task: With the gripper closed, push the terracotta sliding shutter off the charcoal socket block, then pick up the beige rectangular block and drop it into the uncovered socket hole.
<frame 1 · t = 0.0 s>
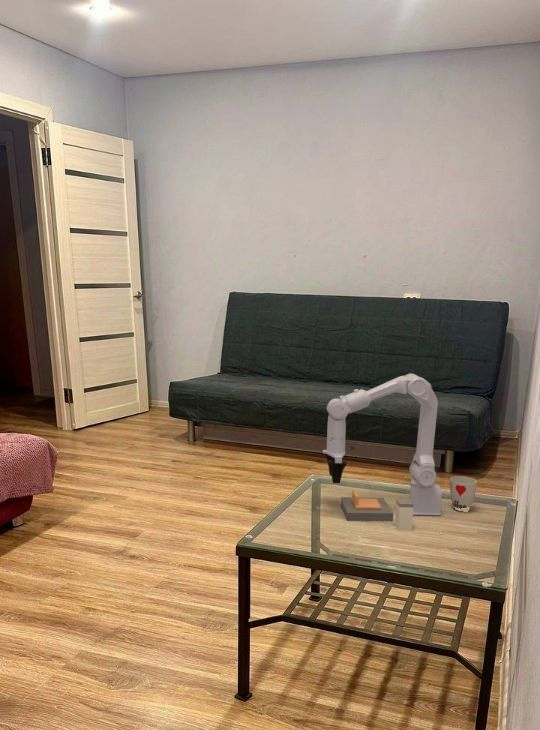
hand: (334, 479, 188), 10 cm above the table, fingers open, 7 cm apart
beige rectangular block: (403, 527, 176), on the table
cup: (461, 510, 193), on the table
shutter: (366, 499, 187), point 4 cm above the table, slide at 0.0 cm
socket housing: (365, 512, 188), on the table
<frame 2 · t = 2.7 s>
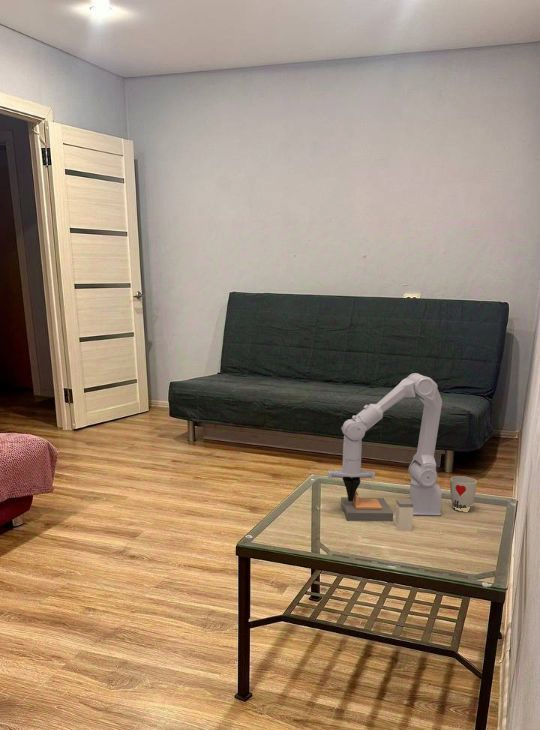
hand: (350, 500, 187), 4 cm above the table, fingers closed
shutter: (367, 499, 187), point 4 cm above the table, slide at 0.2 cm, touching gripper
everything else where it was.
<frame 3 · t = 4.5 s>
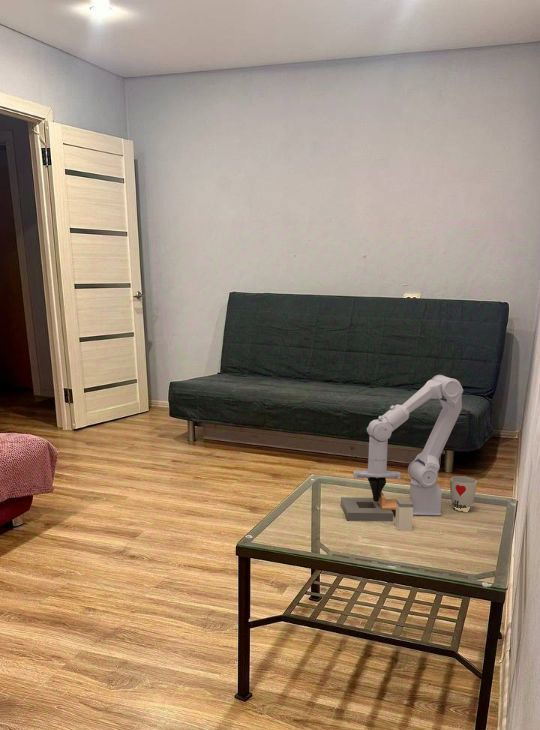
hand: (375, 500, 187), 4 cm above the table, fingers closed
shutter: (392, 499, 187), point 4 cm above the table, slide at 8.3 cm, touching gripper
everything else where it was.
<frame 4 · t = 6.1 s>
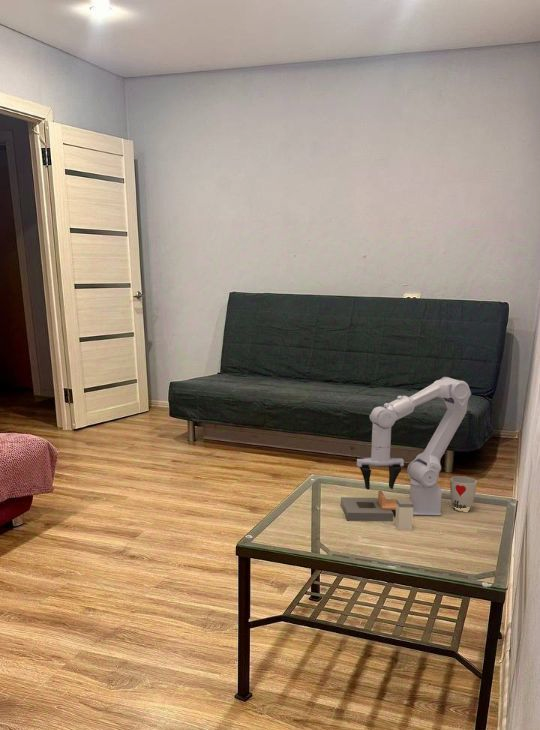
hand: (379, 488, 186), 8 cm above the table, fingers open, 7 cm apart
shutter: (392, 499, 187), point 4 cm above the table, slide at 8.3 cm
everything else where it was.
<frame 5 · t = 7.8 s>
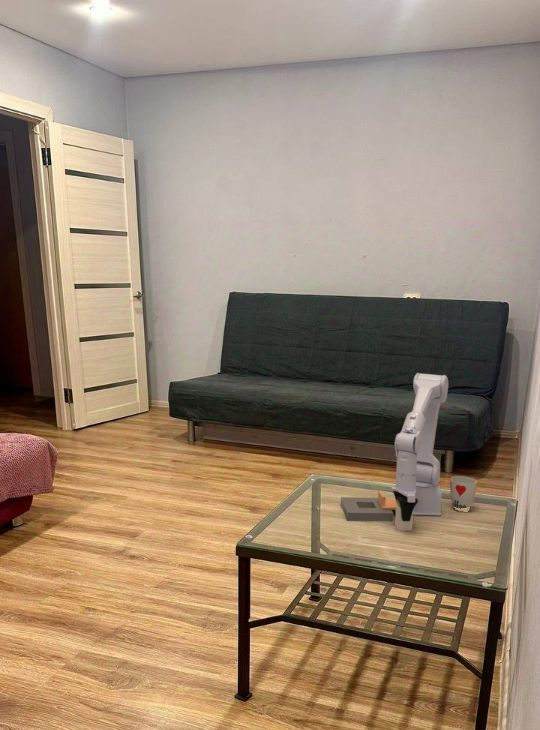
hand: (404, 517, 176), 3 cm above the table, fingers closed on beige rectangular block, 4 cm apart
beige rectangular block: (403, 527, 176), on the table, touching gripper
everything else where it was.
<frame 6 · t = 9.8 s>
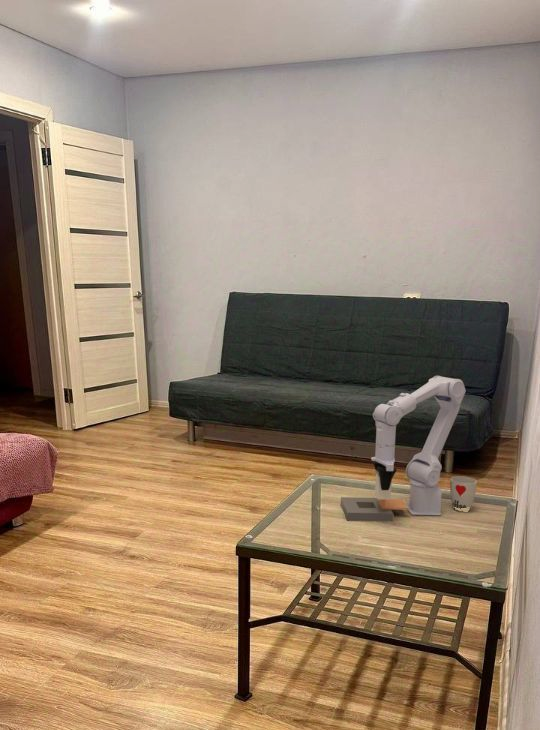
hand: (383, 487, 181), 10 cm above the table, fingers closed on beige rectangular block, 4 cm apart
beige rectangular block: (382, 497, 182), point 7 cm above the table, touching gripper
everything else where it was.
when the fingers open (5 cm above the table, at t = 11.8 s): beige rectangular block drops 1 cm, resting on socket housing.
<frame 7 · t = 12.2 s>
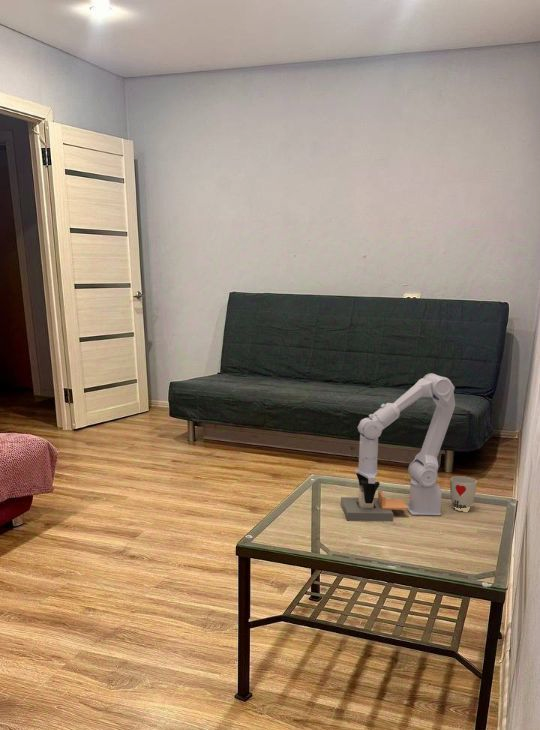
hand: (366, 498, 187), 5 cm above the table, fingers open, 7 cm apart
beige rectangular block: (365, 511, 188), resting on socket housing
everything else where it was.
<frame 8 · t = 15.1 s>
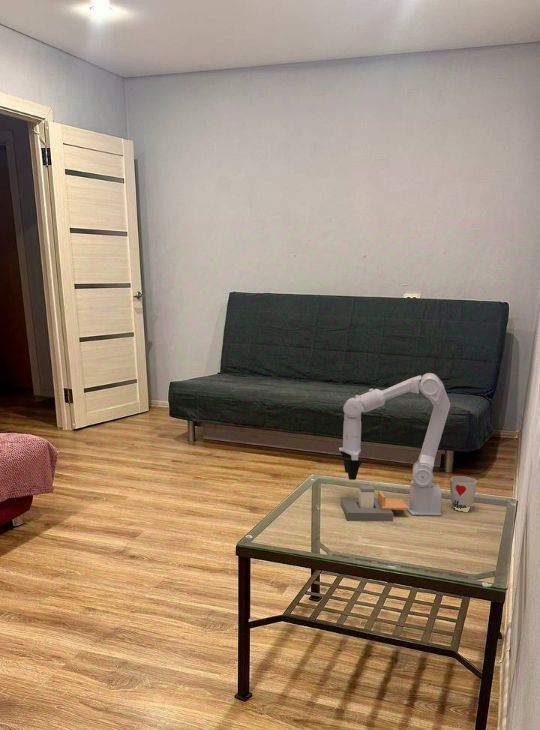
hand: (350, 475, 194), 9 cm above the table, fingers open, 7 cm apart
nothing on the table moved.
at the end: beige rectangular block 0.1 cm off-centre on the socket housing, point 0.3 cm above the socket housing's base; beige rectangular block tilted 0°; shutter slide at 8.3 cm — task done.
